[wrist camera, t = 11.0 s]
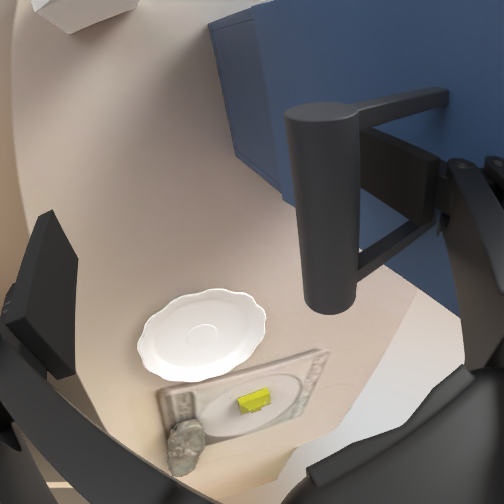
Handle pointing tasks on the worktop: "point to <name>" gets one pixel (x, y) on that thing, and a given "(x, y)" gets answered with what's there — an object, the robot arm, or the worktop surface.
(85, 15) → the milk carton
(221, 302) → the plate
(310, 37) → the cool box lid
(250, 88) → the cool box
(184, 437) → the elongated rock
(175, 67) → the worktop surface
